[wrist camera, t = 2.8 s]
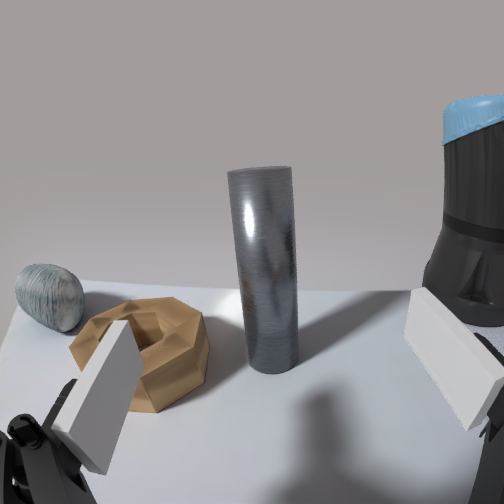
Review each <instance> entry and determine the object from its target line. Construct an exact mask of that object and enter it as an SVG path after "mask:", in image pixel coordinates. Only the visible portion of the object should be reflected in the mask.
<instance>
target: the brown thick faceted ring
mask: <svg viewBox="0 0 504 504" xmlns="http://www.w3.org/2000/svg"><path fill="white" fill-rule="evenodd" d="M115 320H128V321H129V324H130V327H131V330H132V332H133V335H134V338H135V341H136V343H137V346H138V347H140V346H142V345H151V346H149V347H148V348H146V349H144V350H142V351H140V354H141V357H142V359H143V362H144V364H145V367H144V369H143V372H142V374H141V377H140V380H139V382H138V385H137V387H136V390H135V393H134V395H133V398H132V401H131V404H130V406H129V409H128V411H134V412H150V413H158V412H159V411H161V410H162V409H164V408H165V407H167V406H169V405H170V404H172V403H173V402H175V401H176V400H178V399H180V398H181V397H183V396H184V395H186V394H187V393H189V392H190V391H192V390H193V389H195V388H196V387H198V386H199V385H201V384H202V383H204V382H205V381H204V380H205V373H206V366H207V359H208V353H209V347H210V346H209V342H208V337H207V333H206V329H205V324H204V320H203V316H202V312H199V311H198V310H196V309H194V308H192V307H190V306H188V305H186V304H185V303H183V302H181V301H179V300H177V299H175V298H174V297H166V298H153V299H139V300H129V301H127V302H125V303H122V304H120V305H118V306H116V307H114V308H112V309H109V310H107V311H105V312H103V313H101V314H99V315H96V316H94V317H92V318H90V319H89V321H88V322H87V323H86V325H85V326H84V327H83V329H82V330H81V331H80V333H79V334H78V335H77V337H76V338H75V340H74V341H73V342H72V344H71V345H70V346H69V349H70V351H71V353H72V355H73V357H74V359H75V361H76V363H77V364H78V366H79V368H80V370H81V372H82V371H83V370H84V368H85V366H86V365H87V363H88V361H89V360H90V358H91V356H92V355H93V353H94V351H95V350H96V348H97V347H98V345H99V343H100V342H101V340H102V339H103V337H104V335H105V334H106V332H107V331H108V329H109V328H110V326H111V324H112V323H113V321H115Z"/></svg>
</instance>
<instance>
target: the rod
mask: <svg viewBox="0 0 504 504" xmlns="http://www.w3.org/2000/svg"><path fill="white" fill-rule="evenodd" d="M227 175H228V185H229V195H230V204H231V214H232V223H233V231H234V241H235V250H236V259H237V268H238V277H239V285H240V294H241V302H242V311H243V319H244V327H245V335H246V343H247V351H248V359H249V364H250V365H251V367H252V368H254V369H255V370H257V371H259V372H262V373H266V374H277V373H282V372H285V371H287V370H289V369H291V368H292V367H293V366H294V365H295V364H296V363H297V360H298V302H297V269H296V268H297V267H296V243H295V242H296V241H295V220H294V202H293V188H292V187H293V186H292V171H291V167H290V166H289V167H288V166H270V167H257V168H246V169H238V170H233V171H228V172H227Z"/></svg>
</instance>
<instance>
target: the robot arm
mask: <svg viewBox="0 0 504 504" xmlns="http://www.w3.org/2000/svg"><path fill="white" fill-rule="evenodd" d="M442 145H443V146H444V158H445V159H444V161H445V187H444V210H443V211H444V212H443V224H442V229H441V232H440V235H439V237H438V240H437V242H436V245H435V247H434V250H433V253H432V255H431V258H430V260H429V261H428V263H427V265H426V267H425V270H424V276H423V283H422V288H416V289H412V291H411V298H410V304H409V310H408V316H407V321H406V326H405V331H404V336H403V337H404V338H405V340H406V341H407V342H408V344H409V345H410V347H411V348H412V349H413V351H414V352H415V354H416V355H417V357H418V358H419V359H420V361H421V362H422V364H423V365H424V367H425V368H426V370H427V371H428V373H429V374H430V375H431V377H432V378H433V380H434V381H435V383H436V384H437V386H438V387H439V389H440V391H441V392H442V394H443V395H444V397H445V398H446V400H447V401H448V403H449V405H450V406H451V408H452V409H453V411H454V412H455V414H456V416H457V417H458V419H459V421H460V422H461V424H462V425H463V427H464V429H465V430H466V431H468V430H470V429H472V428H474V427H476V426H478V425H480V424H481V422H482V421H483V419H484V418H485V416H486V415H487V416H488V417H489V419H490V420H489V421H488V423H487V424H486V426H485V427H484V429H483V430H482V432H481V433H480V436H479V437H482V436H483V434H484V433H485V431H486V434H485V437H484V438H485V439H484V445H483V450H482V455H481V459H480V464H479V468H478V472H477V476H476V479H475V483H474V486H473V490H472V493H471V496H470V500H469V503H468V504H504V356H503V355H502V354H501V353H500V352H498V350H497V349H496V348H495V347H493V345H492V344H491V343H490V342H489V341H488V340H487V339H486V338H485V337H483V336H482V335H480V334H478V333H472V332H471V331H470V330H469V329H468V328H467V327H466V326H465V325H464V324H463V323H462V322H465V323H468V324H472V325H477V326H487V327H495V326H503V325H504V95H485V96H474V97H468V98H463V99H460V100H456V101H454V102H452V103H450V104H449V105H448V106H447V107H446V108H445V110H444V113H443V141H442ZM461 321H462V322H461ZM144 367H145V364H144V362H143V359H142V357H141V354H140V351H139V349H138V346H137V343H136V341H135V338H134V335H133V332H132V330H131V327H130V324H129V321H128V320H115V321H113V323H112V324H111V326H110V328H109V329H108V331H107V332H106V334H105V335H104V337H103V339H102V340H101V342H100V343H99V345H98V347H97V348H96V350H95V351H94V353H93V355H92V356H91V358H90V360H89V361H88V363H87V365H86V366H85V368H84V370H83V371H82V373H81V375H80V376H79V378H78V379H72V380H71V381H70V382H69V383H67V384H66V385H65V386H64V388H63V389H62V391H61V393H60V394H59V397H58V398H57V400H56V401H55V404H54V405H53V407H52V408H51V410H50V412H49V414H48V415H47V417H46V419H45V421H44V423H43V424H42V426H40V425H39V424H38V422H37V421H36V420H35V419H34V417H32V416H31V415H30V414H20V415H18V416H16V417H14V418H13V419H12V420H11V421H10V423H9V425H8V429H7V433H8V434H9V435H10V436H11V437H12V438H13V439H9V438H8V437H7V436H6V435H5V433H4V432H2V431H0V504H97V503H96V501H95V499H94V497H93V495H92V493H91V491H90V489H89V486H88V484H87V482H86V480H85V478H84V475H83V474H82V472H81V471H80V467H81V465H83V466H84V467H85V468H86V469H87V470H88V471H89V472H93V473H97V474H102V475H106V474H107V471H108V468H109V465H110V462H111V459H112V455H113V452H114V449H115V446H116V443H117V440H118V438H119V435H120V432H121V429H122V426H123V423H124V420H125V417H126V415H127V412H128V409H129V406H130V404H131V401H132V398H133V395H134V393H135V390H136V387H137V385H138V382H139V380H140V377H141V374H142V372H143V369H144ZM12 478H13V479H14V480H15V484H14V485H13V484H12Z"/></svg>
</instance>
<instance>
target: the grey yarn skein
mask: <svg viewBox="0 0 504 504" xmlns="http://www.w3.org/2000/svg"><path fill="white" fill-rule="evenodd" d="M15 294H16V298H17V301H18V303H19V305H20V307H21V308H22V309H23V310H24V311H25V312H26V313H27V314H28V315H29V316H31V317H32V318H33V319H35V320H36V321H38V322H39V323H41V324H43V325H44V326H46V327H48V328H50V329H52V330H55V331H57V332H66V331H69V330H72V329H73V328H74V327H75V326H76V325H77V324H78V323H79V321H80V319H81V317H82V313H83V309H84V292H83V288H82V285H81V283H80V282H79V280H78V279H77V277H76V276H75V275H74V274H72V273H70V272H69V271H68V270H66V269H64V268H61V267H59V266H55V265H51V264H33V265H30V266H28V267H26V268H24V269H23V270H22V271H21V273H20V274H19V276H18V278H17V281H16V285H15Z"/></svg>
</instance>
